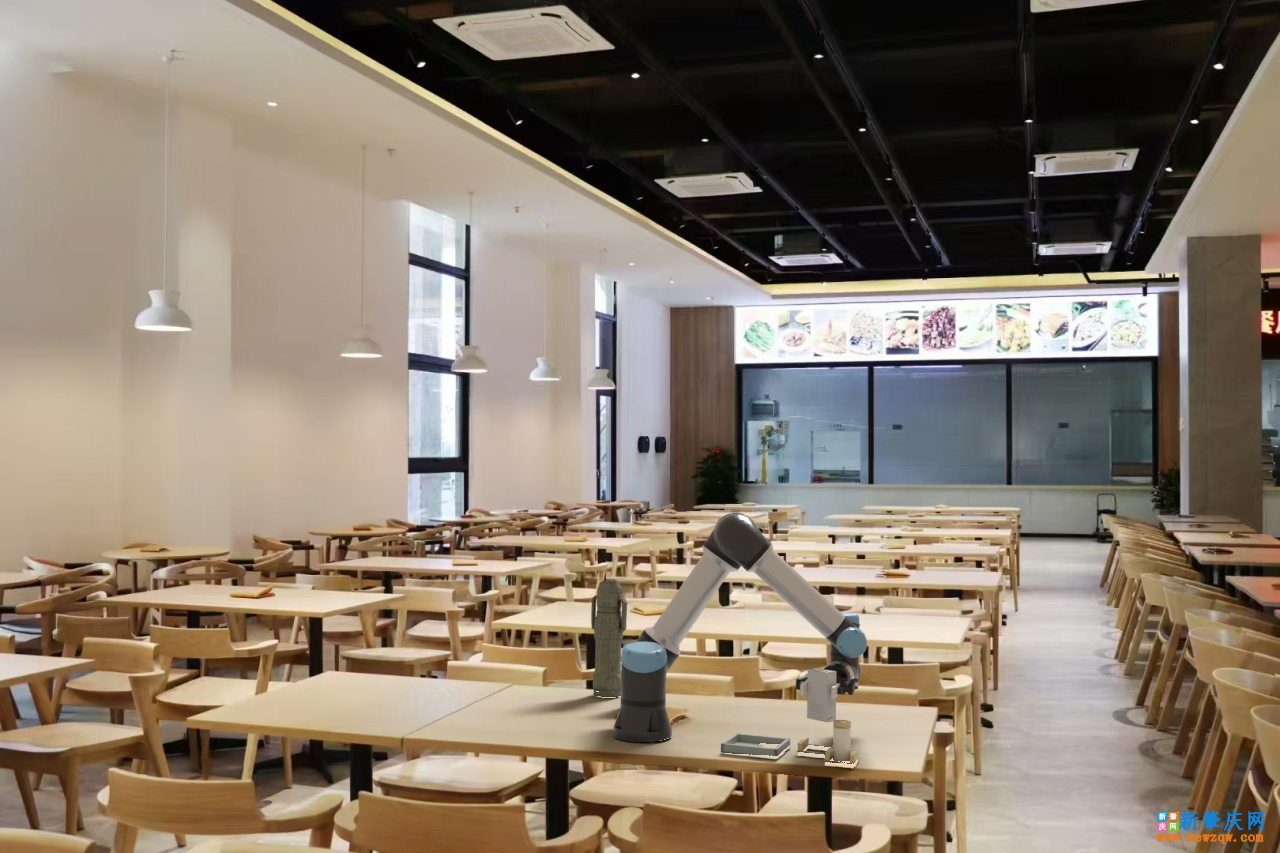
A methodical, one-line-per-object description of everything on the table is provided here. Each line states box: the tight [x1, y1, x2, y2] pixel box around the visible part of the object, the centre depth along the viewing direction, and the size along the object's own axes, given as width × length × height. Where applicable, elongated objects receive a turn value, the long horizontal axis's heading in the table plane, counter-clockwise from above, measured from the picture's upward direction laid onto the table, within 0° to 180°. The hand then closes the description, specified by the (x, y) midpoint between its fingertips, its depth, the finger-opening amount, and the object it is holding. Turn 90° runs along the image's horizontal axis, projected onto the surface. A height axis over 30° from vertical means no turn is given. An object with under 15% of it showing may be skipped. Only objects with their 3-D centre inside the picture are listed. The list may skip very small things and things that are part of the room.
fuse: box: [832, 719, 852, 762], centre depth 271 cm, size 4×4×10 cm
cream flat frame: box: [796, 736, 859, 764], centre depth 277 cm, size 15×16×3 cm
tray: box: [720, 733, 791, 756], centre depth 283 cm, size 14×13×2 cm
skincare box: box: [806, 667, 837, 723], centre depth 282 cm, size 6×4×12 cm
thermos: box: [590, 580, 628, 697], centre depth 353 cm, size 9×12×35 cm
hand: (817, 691), depth 277 cm, fingers closed on skincare box, 7 cm apart
